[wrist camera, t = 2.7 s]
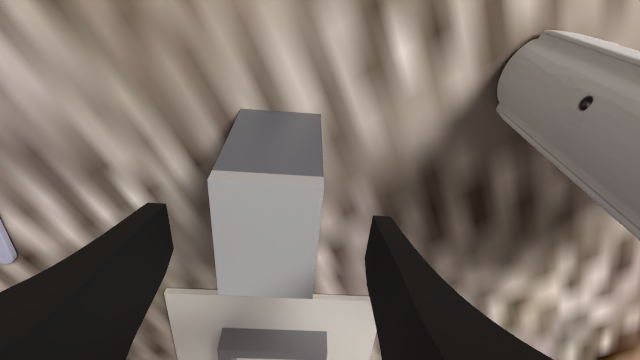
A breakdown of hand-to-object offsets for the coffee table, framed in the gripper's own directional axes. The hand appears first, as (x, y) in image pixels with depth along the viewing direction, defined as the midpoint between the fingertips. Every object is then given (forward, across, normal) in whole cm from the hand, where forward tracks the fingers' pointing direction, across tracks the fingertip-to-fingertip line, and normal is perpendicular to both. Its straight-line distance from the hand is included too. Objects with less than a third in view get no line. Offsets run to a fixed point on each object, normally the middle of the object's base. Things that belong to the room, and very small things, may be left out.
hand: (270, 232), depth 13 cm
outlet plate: (+5, 0, +16) cm, 17 cm away
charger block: (+5, 0, 0) cm, 5 cm away
